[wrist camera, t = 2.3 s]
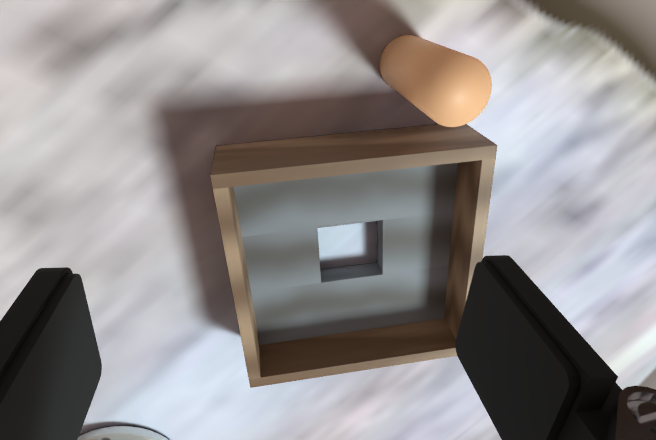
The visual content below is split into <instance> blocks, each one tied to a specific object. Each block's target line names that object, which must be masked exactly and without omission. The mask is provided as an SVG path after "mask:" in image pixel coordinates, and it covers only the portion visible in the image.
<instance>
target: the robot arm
mask: <svg viewBox="0 0 656 440" xmlns="http://www.w3.org/2000/svg"><path fill="white" fill-rule="evenodd" d="M455 347H456V353H457V356H458V358H459V360H460V361H461V363H462V365H463V367H464V369H465V371H466V373H467V375H468V377H469V378H470V380H471V382H472V384H473V386H474V388H475V390H476V392H477V394H478V395H479V397H480V399H481V401H482V403H483V405H484V407H485V409H486V411H487V412H488V414H489V416H490V418H491V420H492V422H493V424H494V426H495V428H496V429H497V431H498V433H499V435H500V437H501V439H502V440H656V390H655V389H652V388H649V387H643V386H631V387H626V388H625V389H623V390H622V389H621V388H620V387H619V386H618V385H617V384H616V380H617V378H618V376H617V375H616V374H615V373H614V372H613V371H612V370H611V369H610V367H609V366H608V365H607V364H606V363H605V362H604V361H603V360H602V358H601V357H600V356H599V355H598V354H597V353H596V352H595V351H594V350H593V348H592V347H591V346H590V345H589V344H588V343H587V342H586V341H585V340H584V338H583V337H582V336H581V335H580V334H579V333H578V332H577V331H576V329H575V328H574V327H573V326H572V325H571V324H570V323H569V322H568V321H567V319H566V318H565V317H564V316H563V315H562V314H561V313H560V312H559V310H558V309H557V308H556V307H555V306H554V305H553V304H552V303H551V302H550V300H549V299H548V298H547V297H546V296H545V295H544V294H543V293H542V291H541V290H540V289H539V288H538V287H537V286H536V285H535V284H534V283H533V281H532V280H531V279H530V278H529V277H528V276H527V275H526V274H525V273H524V271H523V270H522V269H521V268H520V267H519V266H518V265H517V264H516V262H515V261H514V260H513V259H512V258H511V257H510V256H506V255H503V256H485V257H484V258H483V259H482V261H481V262H478V263H477V264H476V266H475V269H474V273H473V277H472V280H471V284H470V288H469V292H468V296H467V300H466V303H465V307H464V311H463V315H462V319H461V323H460V326H459V330H458V334H457V338H456V343H455ZM101 369H102V364H101V359H100V355H99V350H98V346H97V342H96V338H95V333H94V329H93V325H92V321H91V316H90V312H89V308H88V304H87V300H86V295H85V291H84V287H83V283H82V279H81V276H80V275H79V274H73V273H72V271H71V269H70V268H41V269H38V270H37V271H36V272H35V274H34V275H33V276H32V278H31V279H30V281H29V282H28V283H27V285H26V286H25V288H24V289H23V290H22V292H21V293H20V295H19V296H18V297H17V299H16V300H15V302H14V303H13V304H12V306H11V307H10V309H9V310H8V311H7V313H6V314H5V316H4V317H3V318H2V320H1V321H0V440H168V439H167V438H165V437H163V436H162V435H160V434H158V433H155V432H153V431H151V430H147V429H143V428H139V427H130V426H113V427H105V428H101V429H97V430H93V431H90V432H88V433H85V434H83V435H81V436H79V434H80V431H81V428H82V426H83V423H84V420H85V418H86V415H87V412H88V410H89V407H90V404H91V401H92V399H93V396H94V393H95V391H96V388H97V385H98V383H99V380H100V377H101Z"/></svg>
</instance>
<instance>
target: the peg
mask: <svg viewBox="0 0 656 440" xmlns="http://www.w3.org/2000/svg"><path fill="white" fill-rule="evenodd" d="M380 72H381V75H382V77H383V79H384V81H385V82H386V83H387V84H388V85H389V86H390V87H392V88H393V89H394V90H396V91H397V92H398V93H399V94H401V95H402V96H403V97H404V98H406V99H407V100H408V101H409V102H411V103H412V104H413V105H414V106H416V107H417V108H418V109H420V110H421V111H422V112H423V113H425V114H426V115H427V116H428V117H430V118H431V119H432V120H433V121H435V122H436V123H438V124H440V125H442V126H446V127H458V126H462V125H465V124H467V123H469V122H471V121H472V120H474V119H475V118H476V117H477V116H478V115H479V114H480V113H481V112H482V111H483V109H484V108H485V106H486V105H487V103H488V100H489V98H490V94H491V86H492V84H491V77H490V74H489V71H488V69H487V68H486V66H485V65H484V64H483V63H482V62H481V61H479V60H478V59H476V58H474V57H471V56H469V55H466V54H463V53H460V52H458V51H455V50H452V49H449V48H447V47H444V46H441V45H438V44H436V43H433V42H430V41H428V40H425V39H422V38H419V37H417V36H413V35H403V36H399V37H397V38H395V39H394V40H392V41H391V42H390V43H389V44H388V45H387V46H386V47H385V49H384V51H383V53H382V55H381V59H380Z"/></svg>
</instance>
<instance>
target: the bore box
mask: <svg viewBox="0 0 656 440" xmlns="http://www.w3.org/2000/svg"><path fill="white" fill-rule="evenodd" d="M496 151H497V145H496V144H495V143H493V142H492V141H490V140H489V139H487V138H486V137H484V136H483V135H481V134H480V133H479V132H477V131H476V130H474V129H473V128H471V127H470V126H468V125H467V124H465V125H462V126H458V127H446V126H442V125H440V124H434V125H424V126H414V127H403V128H393V129H383V130H373V131H362V132H352V133H342V134H332V135H322V136H311V137H301V138H291V139H281V140H270V141H260V142H250V143H240V144H230V145H219V146H216V149H215V154H214V159H213V164H212V169H211V174H210V177H211V182H212V187H213V193H214V198H215V203H216V208H217V214H218V219H219V224H220V229H221V235H222V240H223V245H224V251H225V256H226V261H227V266H228V272H229V277H230V282H231V287H232V293H233V298H234V303H235V309H236V314H237V319H238V324H239V330H240V335H241V340H242V345H243V351H244V356H245V361H246V367H247V372H248V377H249V382H250V388H251V387H258V386H264V385H271V384H277V383H284V382H290V381H297V380H303V379H309V378H316V377H322V376H329V375H335V374H342V373H348V372H355V371H361V370H367V369H374V368H380V367H387V366H393V365H400V364H406V363H413V362H419V361H426V360H432V359H438V358H445V357H451V356H457V353H456V347H455V343H456V338H457V334H458V330H459V326H460V323H461V319H462V315H463V311H464V307H465V303H466V300H467V296H468V292H469V288H470V284H471V280H472V277H473V273H474V269H475V266H476V264H477V263H478V262H481V261H482V257H483V250H484V242H485V235H486V227H487V219H488V212H489V204H490V197H491V189H492V181H493V174H494V166H495V159H496ZM371 221H377V262H376V263H369V264H361V265H353V266H346V267H338V268H330V269H322V270H320V259H319V246H318V232H317V228H321V227H329V226H337V225H346V224H354V223H363V222H371Z"/></svg>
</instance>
